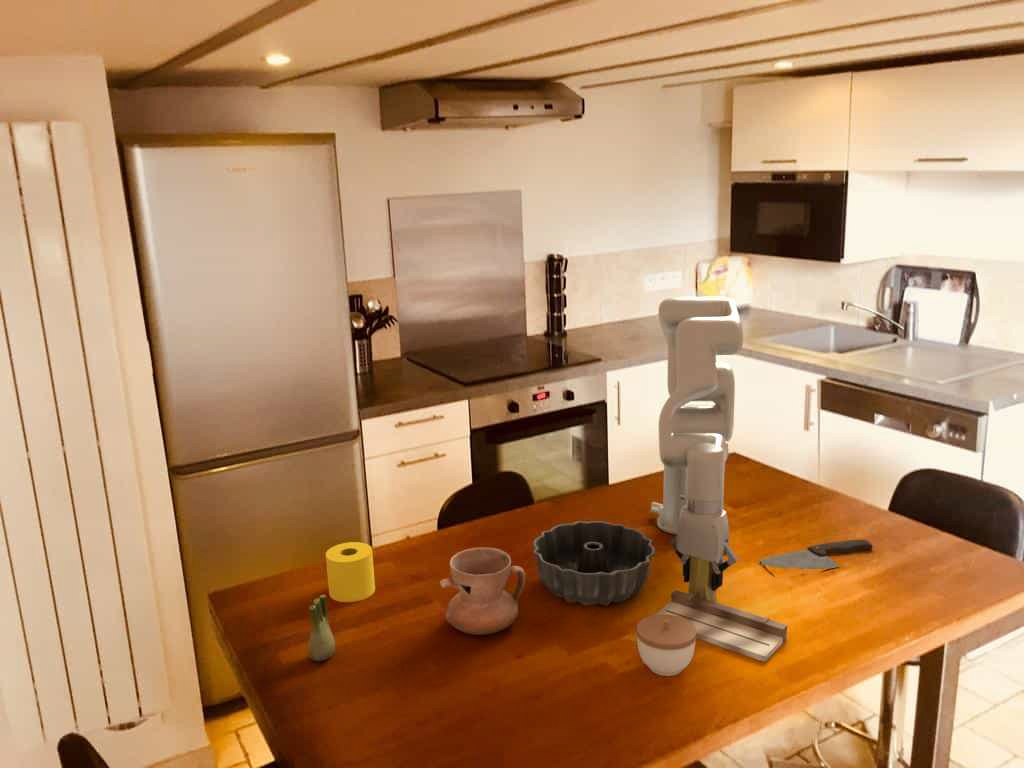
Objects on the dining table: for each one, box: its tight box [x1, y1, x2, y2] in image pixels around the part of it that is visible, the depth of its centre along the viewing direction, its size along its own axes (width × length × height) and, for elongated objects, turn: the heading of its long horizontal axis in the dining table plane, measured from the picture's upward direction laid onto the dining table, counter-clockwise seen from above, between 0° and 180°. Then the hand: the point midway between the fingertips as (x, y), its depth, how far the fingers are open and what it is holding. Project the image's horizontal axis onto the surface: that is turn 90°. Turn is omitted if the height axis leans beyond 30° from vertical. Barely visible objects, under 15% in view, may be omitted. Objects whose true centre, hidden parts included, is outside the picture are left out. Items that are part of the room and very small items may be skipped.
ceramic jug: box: [439, 546, 526, 636], centre depth 174 cm, size 18×14×14 cm
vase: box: [688, 556, 718, 603], centre depth 180 cm, size 6×6×14 cm
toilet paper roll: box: [325, 541, 376, 603], centre depth 189 cm, size 10×10×9 cm
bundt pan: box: [532, 520, 656, 607], centre depth 188 cm, size 26×26×10 cm
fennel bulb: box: [307, 594, 336, 662], centre depth 164 cm, size 6×5×12 cm
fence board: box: [654, 589, 788, 663], centre depth 170 cm, size 24×10×3 cm, turn 51°
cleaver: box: [758, 538, 873, 570], centre depth 198 cm, size 29×10×2 cm, turn 109°
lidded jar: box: [636, 614, 697, 677], centre depth 157 cm, size 11×11×9 cm
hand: (702, 583), depth 181 cm, fingers closed on vase, 5 cm apart
